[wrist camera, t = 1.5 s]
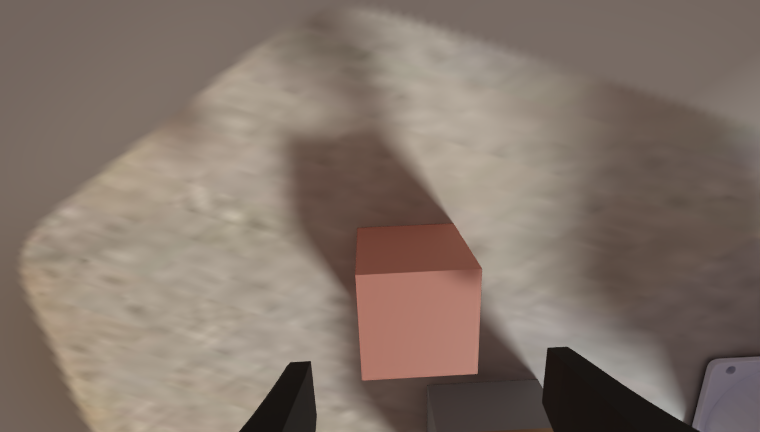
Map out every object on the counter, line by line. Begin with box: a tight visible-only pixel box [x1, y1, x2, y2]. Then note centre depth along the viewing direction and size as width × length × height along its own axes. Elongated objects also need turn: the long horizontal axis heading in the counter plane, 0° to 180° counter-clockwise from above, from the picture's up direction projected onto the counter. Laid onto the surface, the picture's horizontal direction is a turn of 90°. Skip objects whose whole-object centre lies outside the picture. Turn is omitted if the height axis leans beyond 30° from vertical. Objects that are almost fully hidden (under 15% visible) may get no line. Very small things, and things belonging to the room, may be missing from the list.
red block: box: [355, 223, 482, 380], centre depth 18 cm, size 4×4×5 cm
